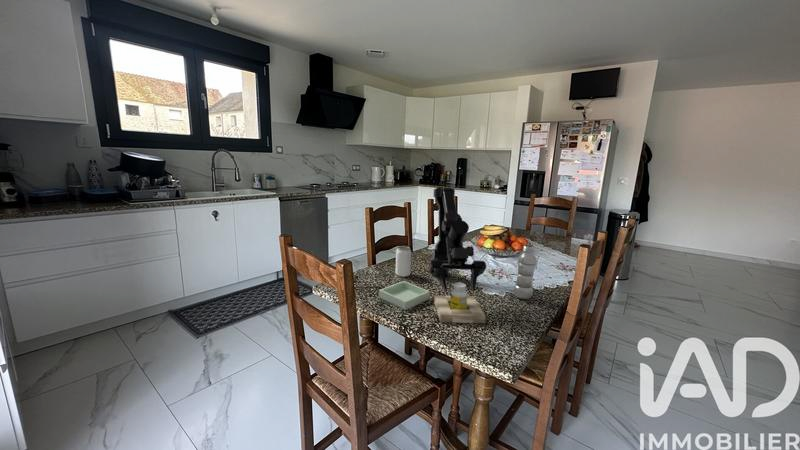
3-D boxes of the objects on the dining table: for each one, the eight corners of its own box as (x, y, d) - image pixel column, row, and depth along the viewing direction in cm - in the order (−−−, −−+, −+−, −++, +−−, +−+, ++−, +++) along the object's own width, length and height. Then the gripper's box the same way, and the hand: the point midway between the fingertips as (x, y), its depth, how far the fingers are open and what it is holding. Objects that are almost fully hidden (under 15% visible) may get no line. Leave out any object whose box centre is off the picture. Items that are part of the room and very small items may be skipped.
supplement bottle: (446, 309, 106) (448, 282, 104) (459, 307, 108) (462, 280, 106) (455, 317, 101) (457, 288, 99) (469, 314, 103) (471, 286, 101)
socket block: (434, 302, 111) (434, 295, 111) (473, 302, 112) (473, 296, 111) (440, 322, 97) (440, 314, 97) (484, 323, 98) (485, 315, 97)
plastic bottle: (509, 295, 119) (515, 244, 115) (522, 292, 122) (529, 243, 118) (521, 302, 113) (528, 249, 109) (535, 299, 116) (542, 247, 112)
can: (408, 277, 133) (409, 250, 130) (393, 276, 134) (394, 249, 132) (411, 272, 139) (412, 246, 137) (397, 271, 140) (398, 245, 138)
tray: (403, 288, 122) (403, 280, 122) (429, 299, 113) (430, 291, 113) (378, 297, 113) (379, 289, 112) (404, 310, 104) (405, 302, 104)
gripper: (432, 236, 104) (434, 280, 96) (487, 237, 105) (495, 281, 96) (428, 252, 114) (430, 293, 105) (478, 253, 114) (485, 294, 106)
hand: (459, 290), depth 103 cm, fingers open, 9 cm apart
